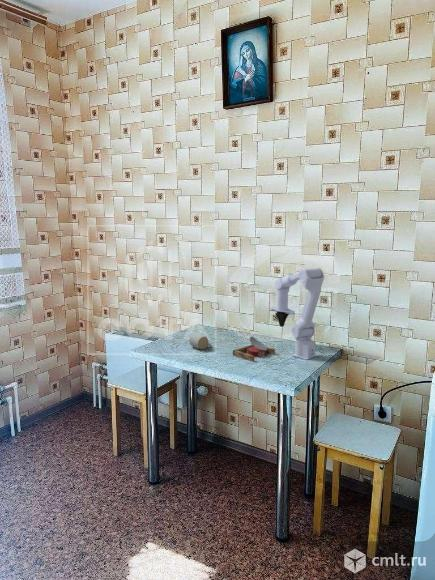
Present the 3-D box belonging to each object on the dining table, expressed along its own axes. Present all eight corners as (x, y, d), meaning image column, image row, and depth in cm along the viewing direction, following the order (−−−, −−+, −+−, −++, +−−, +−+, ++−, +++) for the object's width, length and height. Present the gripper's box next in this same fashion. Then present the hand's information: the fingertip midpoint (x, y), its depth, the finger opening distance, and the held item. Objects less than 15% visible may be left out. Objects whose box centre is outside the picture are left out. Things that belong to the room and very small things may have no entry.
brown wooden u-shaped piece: (274, 353, 219) (275, 349, 218) (252, 361, 208) (252, 356, 207) (255, 348, 228) (255, 343, 228) (232, 355, 217) (232, 350, 217)
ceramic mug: (198, 351, 223) (198, 336, 222) (188, 347, 229) (188, 333, 228) (214, 347, 230) (214, 333, 229) (204, 344, 236) (204, 330, 235)
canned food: (256, 359, 225) (262, 341, 226) (268, 363, 216) (274, 343, 218) (239, 352, 219) (245, 334, 221) (251, 356, 210) (258, 336, 212)
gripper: (298, 301, 226) (297, 327, 228) (276, 297, 236) (275, 322, 239) (289, 303, 221) (289, 329, 224) (267, 299, 232) (267, 324, 234)
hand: (281, 326), depth 231 cm, fingers closed
